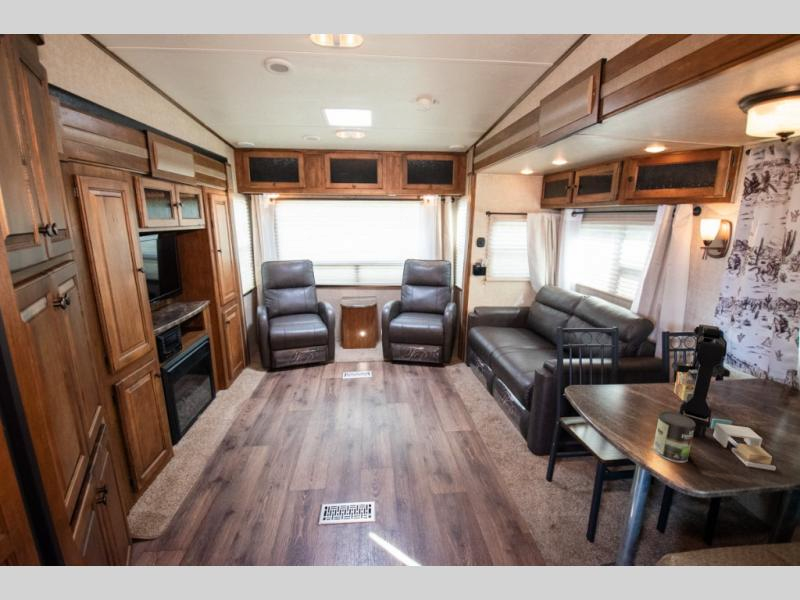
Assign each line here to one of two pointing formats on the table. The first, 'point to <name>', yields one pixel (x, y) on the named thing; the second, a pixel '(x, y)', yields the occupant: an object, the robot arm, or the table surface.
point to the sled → (737, 446)
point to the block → (753, 454)
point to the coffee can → (673, 436)
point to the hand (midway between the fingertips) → (696, 387)
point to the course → (736, 434)
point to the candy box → (683, 385)
